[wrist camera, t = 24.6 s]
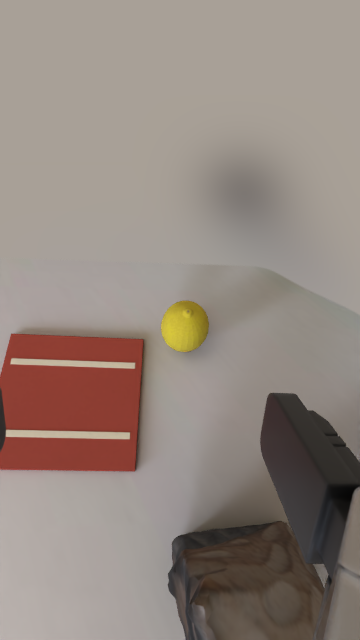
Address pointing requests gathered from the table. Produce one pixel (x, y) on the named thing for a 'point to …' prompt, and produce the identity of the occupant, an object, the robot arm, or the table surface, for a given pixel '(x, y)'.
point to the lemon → (185, 326)
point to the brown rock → (244, 584)
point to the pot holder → (71, 403)
